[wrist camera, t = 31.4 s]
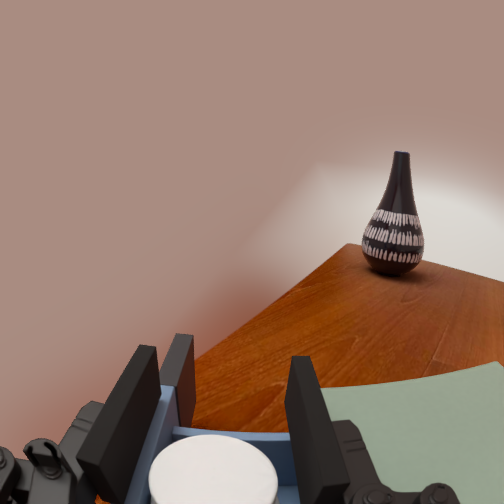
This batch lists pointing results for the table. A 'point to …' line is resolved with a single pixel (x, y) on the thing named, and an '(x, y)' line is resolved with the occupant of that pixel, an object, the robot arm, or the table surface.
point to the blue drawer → (179, 427)
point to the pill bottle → (212, 473)
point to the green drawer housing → (432, 430)
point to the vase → (395, 225)
